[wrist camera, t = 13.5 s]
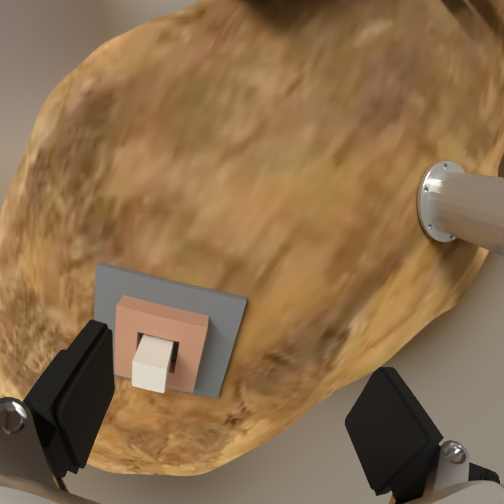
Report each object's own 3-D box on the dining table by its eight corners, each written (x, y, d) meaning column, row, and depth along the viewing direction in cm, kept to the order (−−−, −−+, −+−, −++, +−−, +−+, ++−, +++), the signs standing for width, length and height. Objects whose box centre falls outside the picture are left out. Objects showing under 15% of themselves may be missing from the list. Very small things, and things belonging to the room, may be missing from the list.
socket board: (246, 297, 37) (249, 311, 33) (217, 394, 41) (217, 411, 38) (99, 261, 34) (87, 272, 30) (97, 365, 38) (89, 380, 34)
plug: (175, 332, 36) (166, 369, 29) (172, 355, 37) (164, 393, 30) (147, 325, 36) (132, 361, 28) (145, 348, 37) (131, 385, 29)
